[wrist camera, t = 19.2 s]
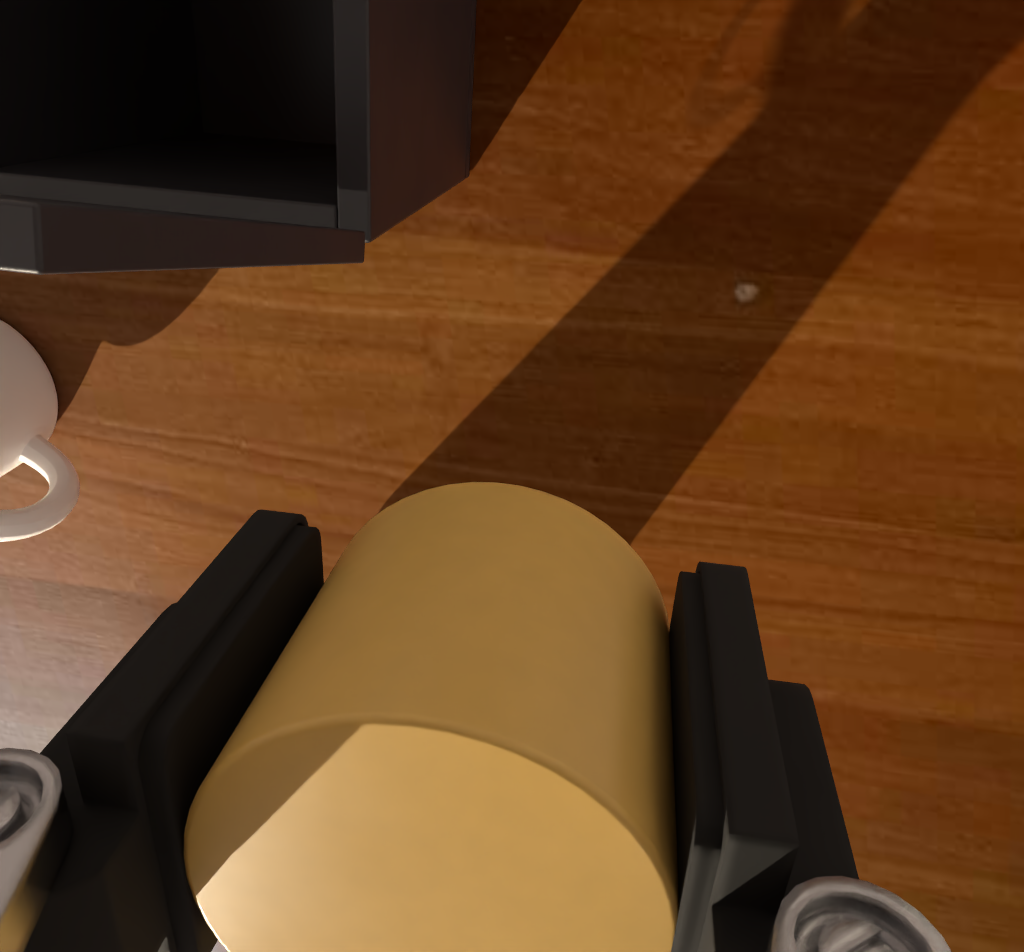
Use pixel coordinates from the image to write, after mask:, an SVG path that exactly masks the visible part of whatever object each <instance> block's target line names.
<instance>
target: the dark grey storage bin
mask: <svg viewBox="0 0 1024 952" xmlns="http://www.w3.org/2000/svg"><path fill="white" fill-rule="evenodd" d="M476 3H477V0H0V194H1V195H11V196H21V197H31V198H41V199H51V200H61V201H70V202H80V203H90V204H100V205H110V206H120V207H130V208H140V209H150V210H160V211H170V212H180V213H190V214H200V215H210V216H220V217H230V218H240V219H250V220H260V221H270V222H280V223H289V224H299V225H309V226H319V227H329V228H339V229H349V230H359V231H364V232H365V243H369V242H371V241H373V240H374V239H376V238H377V237H379V236H380V235H382V234H383V233H385V232H386V231H388V230H389V229H391V228H392V227H394V226H395V225H397V224H398V223H400V222H401V221H403V220H404V219H406V218H407V217H409V216H410V215H412V214H413V213H415V212H416V211H418V210H419V209H421V208H422V207H424V206H425V205H427V204H428V203H430V202H431V201H433V200H434V199H436V198H437V197H439V196H440V195H442V194H443V193H445V192H446V191H448V190H449V189H451V188H452V187H454V186H455V185H457V184H458V183H460V182H461V181H463V180H464V179H465V178H467V177H468V176H469V165H470V142H471V119H472V96H473V72H474V49H475V26H476Z"/></svg>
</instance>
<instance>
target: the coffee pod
mask: <svg viewBox="0 0 1024 952" xmlns="http://www.w3.org/2000/svg"><path fill="white" fill-rule="evenodd" d="M184 862H185V869H186V875H187V880H188V883H189V886H190V889H191V892H192V894H193V897H194V900H195V902H196V904H197V906H198V908H199V910H200V912H201V914H202V916H203V918H204V920H205V921H206V923H207V924H208V926H209V927H210V929H211V930H212V932H213V933H214V934H215V936H216V937H217V939H218V940H219V941H220V943H221V944H222V945H223V946H224V947H225V948H226V950H227V951H228V952H671V949H672V944H673V939H674V934H675V929H676V924H677V918H678V909H679V891H678V864H677V837H676V810H675V783H674V756H673V729H672V702H671V675H670V648H669V623H668V615H667V611H666V608H665V605H664V601H663V598H662V595H661V593H660V591H659V588H658V586H657V584H656V582H655V580H654V578H653V576H652V574H651V573H650V571H649V570H648V568H647V567H646V565H645V564H644V562H643V561H642V559H641V558H640V557H639V556H638V554H637V553H636V552H635V551H634V550H633V549H632V548H631V546H630V545H629V544H628V543H627V542H626V541H625V540H624V539H623V538H622V537H621V536H620V535H618V534H617V533H616V532H615V531H614V530H613V529H612V528H611V527H609V526H608V525H607V524H606V523H604V522H603V521H601V520H600V519H598V518H597V517H595V516H594V515H592V514H591V513H589V512H588V511H586V510H584V509H582V508H580V507H578V506H577V505H575V504H573V503H571V502H569V501H567V500H565V499H562V498H559V497H557V496H554V495H551V494H549V493H546V492H543V491H539V490H535V489H531V488H527V487H523V486H519V485H512V484H504V483H496V482H468V483H458V484H449V485H445V486H440V487H436V488H432V489H428V490H424V491H421V492H419V493H416V494H414V495H411V496H408V497H406V498H403V499H402V500H400V501H398V502H396V503H394V504H392V505H391V506H389V507H387V508H385V509H384V510H383V511H381V512H380V513H379V514H377V515H376V516H375V517H373V518H372V519H371V520H369V521H368V522H367V523H366V524H365V525H364V526H363V527H362V528H361V529H360V531H359V532H358V533H357V534H356V535H355V536H354V537H353V539H352V540H351V542H350V543H349V545H348V546H347V547H346V549H345V550H344V552H343V554H342V555H341V557H340V558H339V560H338V562H337V563H336V565H335V567H334V568H333V570H332V572H331V573H330V575H329V576H328V578H327V580H326V581H325V583H324V585H323V586H322V588H321V589H320V591H319V593H318V594H317V596H316V598H315V599H314V601H313V603H312V604H311V606H310V607H309V609H308V611H307V612H306V614H305V616H304V617H303V619H302V620H301V622H300V624H299V625H298V627H297V629H296V630H295V632H294V634H293V635H292V637H291V638H290V640H289V642H288V643H287V645H286V647H285V648H284V650H283V651H282V653H281V655H280V656H279V658H278V660H277V661H276V663H275V665H274V666H273V668H272V669H271V671H270V673H269V674H268V676H267V678H266V679H265V681H264V683H263V684H262V686H261V687H260V689H259V691H258V692H257V694H256V696H255V697H254V699H253V700H252V702H251V704H250V705H249V707H248V709H247V710H246V712H245V714H244V715H243V717H242V718H241V720H240V722H239V723H238V725H237V727H236V728H235V730H234V731H233V733H232V735H231V736H230V738H229V740H228V741H227V743H226V745H225V746H224V748H223V749H222V751H221V753H220V754H219V756H218V758H217V759H216V761H215V762H214V764H213V766H212V767H211V769H210V771H209V772H208V774H207V776H206V777H205V779H204V780H203V782H202V784H201V785H200V787H199V789H198V791H197V793H196V795H195V797H194V800H193V802H192V804H191V806H190V809H189V813H188V817H187V822H186V826H185V832H184Z"/></svg>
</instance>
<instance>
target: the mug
mask: <svg viewBox="0 0 1024 952" xmlns="http://www.w3.org/2000/svg"><path fill="white" fill-rule="evenodd" d="M57 415H58V400H57V393H56V389H55V385H54V382H53V380H52V377H51V374H50V372H49V370H48V368H47V366H46V364H45V363H44V361H43V360H42V358H41V356H40V355H39V354H38V352H37V351H36V350H35V348H34V347H33V346H32V345H31V344H30V343H29V342H28V341H27V340H26V339H25V338H24V337H23V336H22V335H21V334H20V333H19V332H18V331H16V330H15V329H14V328H12V327H11V326H10V325H8V324H7V323H5V322H4V321H2V320H0V477H1V476H3V475H4V474H6V473H7V472H9V471H11V470H12V469H14V468H15V467H17V466H18V465H20V464H21V463H23V462H24V463H26V464H28V465H29V466H31V467H33V468H34V469H36V470H37V471H38V472H40V473H41V474H42V475H43V476H44V477H45V478H46V479H47V481H48V483H49V491H48V493H47V495H46V496H45V497H43V498H42V499H41V500H40V501H38V502H37V503H35V504H33V505H31V506H27V507H24V508H19V509H13V510H0V542H2V541H14V540H19V539H24V538H28V537H31V536H34V535H37V534H40V533H42V532H44V531H47V530H49V529H51V528H53V527H54V526H56V525H57V524H58V523H60V522H61V521H62V520H63V519H64V518H65V517H66V516H67V515H68V514H69V513H70V512H71V511H72V509H73V508H74V506H75V505H76V503H77V500H78V497H79V491H80V482H79V477H78V474H77V472H76V470H75V468H74V466H73V464H72V463H71V462H70V460H69V459H68V458H67V457H66V456H65V455H64V454H63V453H62V452H61V451H60V450H59V449H58V448H57V447H55V446H54V445H53V444H51V443H50V442H49V441H48V440H49V438H50V436H51V435H52V433H53V430H54V428H55V425H56V420H57Z"/></svg>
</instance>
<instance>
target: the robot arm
mask: <svg viewBox="0 0 1024 952" xmlns="http://www.w3.org/2000/svg"><path fill="white" fill-rule="evenodd" d="M323 585H324V579H323V563H322V547H321V536H320V532H319V529H317V528H316V527H308V523H307V520H306V518H305V517H304V516H303V515H302V514H294V513H285V512H277V511H269V510H258V511H256V512H255V513H254V514H253V515H252V516H251V517H250V518H249V520H248V521H247V522H246V523H245V524H244V525H243V527H242V528H241V529H240V530H239V531H238V532H237V534H236V535H235V536H234V537H233V538H232V539H231V541H230V542H229V543H228V544H227V545H226V546H225V548H224V549H223V550H222V551H221V552H220V553H219V555H218V556H217V557H216V558H215V559H214V560H213V562H212V563H211V564H210V565H209V566H208V567H207V569H206V570H205V571H204V572H203V573H202V574H201V575H200V577H199V578H198V579H197V580H196V581H195V582H194V584H193V585H192V586H191V587H190V588H189V589H188V591H187V592H186V593H185V594H184V595H183V596H182V598H181V599H180V600H179V601H178V602H177V603H174V604H172V605H170V606H169V607H168V608H167V609H166V610H165V611H164V612H163V613H162V614H161V615H160V616H159V617H158V618H157V620H156V621H155V622H154V623H153V624H152V625H151V626H150V628H149V629H148V630H147V631H146V632H145V633H144V634H143V636H142V637H141V638H140V639H139V640H138V641H137V643H136V644H135V645H134V646H133V647H132V648H131V649H130V651H129V652H128V653H127V654H126V655H125V656H124V657H123V659H122V660H121V661H120V662H119V663H118V664H117V665H116V667H115V668H114V669H113V670H112V671H111V672H110V674H109V675H108V676H107V677H106V678H105V679H104V680H103V682H102V683H101V684H100V685H99V686H98V687H97V688H96V690H95V691H94V692H93V693H92V694H91V695H90V696H89V698H88V699H87V700H86V701H85V702H84V703H83V705H82V706H81V707H80V708H79V709H78V710H77V711H76V713H75V714H74V715H73V716H72V717H71V718H70V719H69V721H68V722H67V723H66V724H65V725H64V726H63V728H62V729H61V730H60V731H59V732H58V733H57V734H56V736H55V737H54V738H53V739H52V740H51V741H50V742H49V744H48V745H47V746H46V747H45V748H44V749H43V750H42V752H41V753H40V754H39V753H37V752H34V751H32V750H24V749H14V748H5V749H0V952H211V951H212V949H213V947H214V946H215V944H216V942H217V940H218V939H217V937H216V936H215V934H214V933H213V932H212V930H211V929H210V927H209V926H208V924H207V923H206V921H205V920H204V918H203V916H202V914H201V912H200V910H199V908H198V906H197V904H196V902H195V900H194V897H193V894H192V892H191V889H190V886H189V883H188V880H187V875H186V869H185V862H184V832H185V826H186V822H187V817H188V813H189V809H190V806H191V804H192V802H193V800H194V797H195V795H196V793H197V791H198V789H199V787H200V785H201V784H202V782H203V780H204V779H205V777H206V776H207V774H208V772H209V771H210V769H211V767H212V766H213V764H214V762H215V761H216V759H217V758H218V756H219V754H220V753H221V751H222V749H223V748H224V746H225V745H226V743H227V741H228V740H229V738H230V736H231V735H232V733H233V731H234V730H235V728H236V727H237V725H238V723H239V722H240V720H241V718H242V717H243V715H244V714H245V712H246V710H247V709H248V707H249V705H250V704H251V702H252V700H253V699H254V697H255V696H256V694H257V692H258V691H259V689H260V687H261V686H262V684H263V683H264V681H265V679H266V678H267V676H268V674H269V673H270V671H271V669H272V668H273V666H274V665H275V663H276V661H277V660H278V658H279V656H280V655H281V653H282V651H283V650H284V648H285V647H286V645H287V643H288V642H289V640H290V638H291V637H292V635H293V634H294V632H295V630H296V629H297V627H298V625H299V624H300V622H301V620H302V619H303V617H304V616H305V614H306V612H307V611H308V609H309V607H310V606H311V604H312V603H313V601H314V599H315V598H316V596H317V594H318V593H319V591H320V589H321V588H322V586H323ZM669 648H670V675H671V702H672V729H673V756H674V783H675V810H676V837H677V864H678V891H679V909H678V918H677V924H676V929H675V934H674V939H673V944H672V949H671V952H951V950H950V948H949V947H948V945H947V943H946V942H945V940H944V938H943V936H942V935H941V934H940V933H939V932H938V931H937V930H936V929H935V928H934V927H933V925H932V924H931V923H930V922H929V921H928V920H927V919H926V918H925V917H924V916H923V915H922V914H921V913H920V912H919V911H918V910H916V909H915V908H914V907H912V906H911V905H909V904H908V903H907V902H905V901H904V900H902V899H901V898H900V897H898V896H897V895H896V894H894V893H892V892H889V891H887V890H885V889H883V888H881V887H879V886H876V885H874V884H872V883H870V882H868V881H863V880H859V877H858V873H857V870H856V866H855V862H854V858H853V854H852V850H851V846H850V842H849V838H848V834H847V831H846V827H845V823H844V819H843V815H842V811H841V807H840V803H839V799H838V795H837V791H836V788H835V784H834V780H833V776H832V772H831V768H830V764H829V760H828V756H827V752H826V748H825V745H824V741H823V737H822V733H821V729H820V725H819V721H818V717H817V713H816V709H815V706H814V702H813V698H812V695H811V693H810V690H809V688H808V687H807V686H806V685H805V684H798V683H790V682H783V681H775V680H768V677H767V672H766V667H765V662H764V656H763V651H762V646H761V641H760V636H759V630H758V625H757V620H756V615H755V610H754V604H753V599H752V594H751V589H750V583H749V578H748V573H747V570H746V568H745V567H740V566H732V565H723V564H715V563H707V562H699V563H698V565H697V568H696V573H691V572H682V571H681V572H680V573H679V577H678V582H677V588H676V594H675V600H674V606H673V612H672V618H671V623H670V629H669Z"/></svg>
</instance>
